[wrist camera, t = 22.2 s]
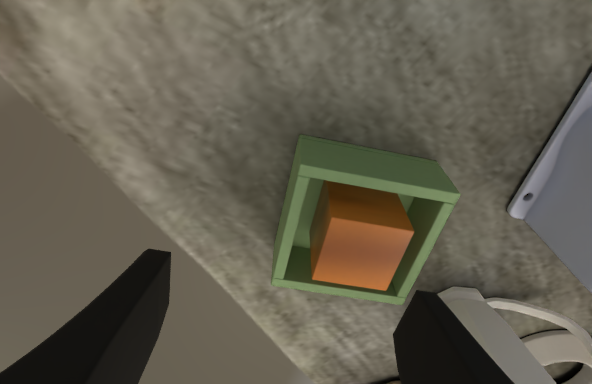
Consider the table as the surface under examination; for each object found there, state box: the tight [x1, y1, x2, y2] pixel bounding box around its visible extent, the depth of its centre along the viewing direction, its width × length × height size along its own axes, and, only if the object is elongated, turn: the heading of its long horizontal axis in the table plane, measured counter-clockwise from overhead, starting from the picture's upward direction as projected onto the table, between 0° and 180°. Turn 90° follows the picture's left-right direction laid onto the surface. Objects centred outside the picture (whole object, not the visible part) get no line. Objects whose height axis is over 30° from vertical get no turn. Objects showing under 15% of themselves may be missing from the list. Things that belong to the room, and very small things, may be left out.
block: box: [309, 180, 414, 291], centre depth 19 cm, size 4×4×4 cm
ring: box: [521, 330, 592, 384], centre depth 29 cm, size 8×8×2 cm
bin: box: [271, 134, 460, 305], centre depth 20 cm, size 8×8×4 cm
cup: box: [437, 286, 592, 384], centre depth 22 cm, size 7×10×8 cm
